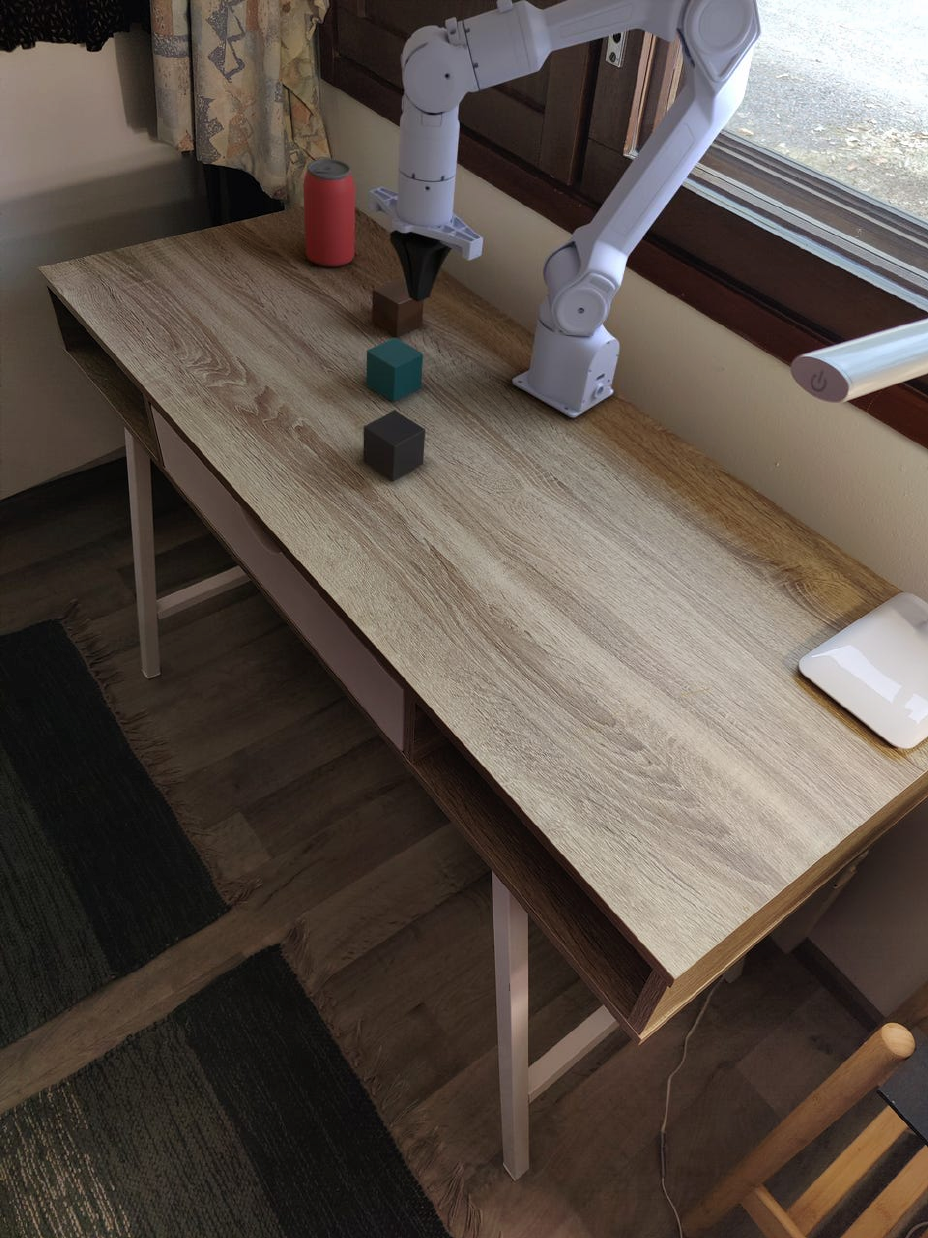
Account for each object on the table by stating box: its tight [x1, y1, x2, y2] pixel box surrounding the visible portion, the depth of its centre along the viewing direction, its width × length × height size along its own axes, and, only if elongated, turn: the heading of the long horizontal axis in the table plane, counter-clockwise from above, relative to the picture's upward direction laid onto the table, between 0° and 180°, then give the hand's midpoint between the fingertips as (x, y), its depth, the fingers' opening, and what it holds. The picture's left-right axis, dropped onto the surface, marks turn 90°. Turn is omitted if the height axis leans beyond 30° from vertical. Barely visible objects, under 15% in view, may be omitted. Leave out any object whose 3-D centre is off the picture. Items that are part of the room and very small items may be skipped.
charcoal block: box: [362, 409, 426, 483], centre depth 99 cm, size 4×4×4 cm
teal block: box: [365, 337, 424, 403], centre depth 109 cm, size 4×4×4 cm
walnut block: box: [371, 278, 425, 338], centre depth 118 cm, size 4×4×4 cm
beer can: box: [302, 158, 356, 268], centre depth 126 cm, size 7×7×12 cm
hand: (419, 296), depth 104 cm, fingers closed
